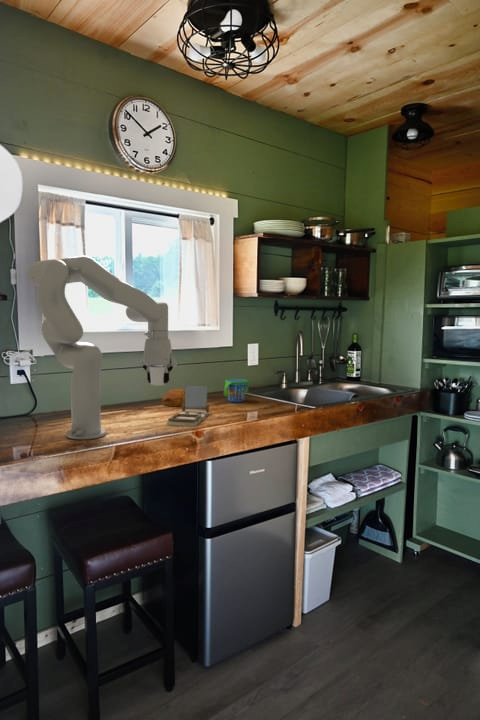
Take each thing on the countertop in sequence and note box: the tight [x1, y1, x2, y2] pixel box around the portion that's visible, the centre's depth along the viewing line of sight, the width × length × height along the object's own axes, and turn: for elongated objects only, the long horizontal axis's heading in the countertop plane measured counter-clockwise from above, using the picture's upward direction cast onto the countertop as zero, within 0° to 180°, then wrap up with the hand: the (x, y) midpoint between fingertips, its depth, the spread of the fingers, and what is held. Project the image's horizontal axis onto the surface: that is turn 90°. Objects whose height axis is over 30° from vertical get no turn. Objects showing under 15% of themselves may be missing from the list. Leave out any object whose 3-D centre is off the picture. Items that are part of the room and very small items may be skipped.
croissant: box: [161, 388, 186, 408], centre depth 227 cm, size 14×16×8 cm
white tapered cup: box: [149, 365, 166, 386], centre depth 189 cm, size 7×7×7 cm
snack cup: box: [223, 378, 249, 403], centre depth 234 cm, size 16×10×10 cm
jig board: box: [166, 404, 210, 427], centre depth 195 cm, size 22×11×4 cm, turn 170°
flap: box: [185, 385, 208, 411], centre depth 205 cm, size 10×9×1 cm
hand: (158, 382), depth 189 cm, fingers closed on white tapered cup, 5 cm apart
